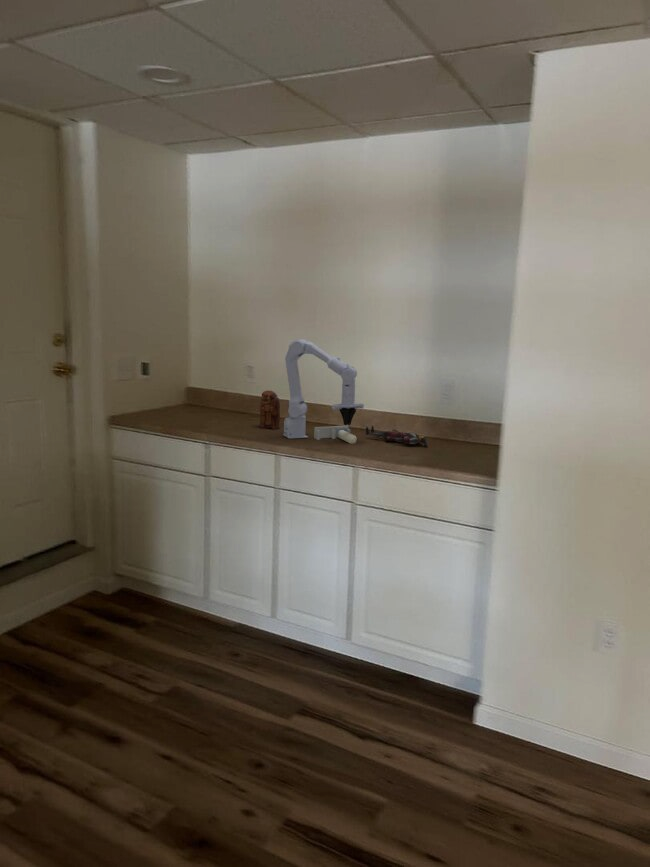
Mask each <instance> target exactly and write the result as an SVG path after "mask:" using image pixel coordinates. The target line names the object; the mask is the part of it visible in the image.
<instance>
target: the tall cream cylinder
mask: <svg viewBox="0 0 650 867" xmlns="http://www.w3.org/2000/svg"><path fill="white" fill-rule="evenodd" d="M337 438H339V439H340V440H342V441H345V442H347V443H348V444H352V445H353V444H356V442H357V436H356V435H355V434H352V433H351V432H350V433H348V432H346V431H344V430H340V431H339V432H338V437H337Z"/></svg>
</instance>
